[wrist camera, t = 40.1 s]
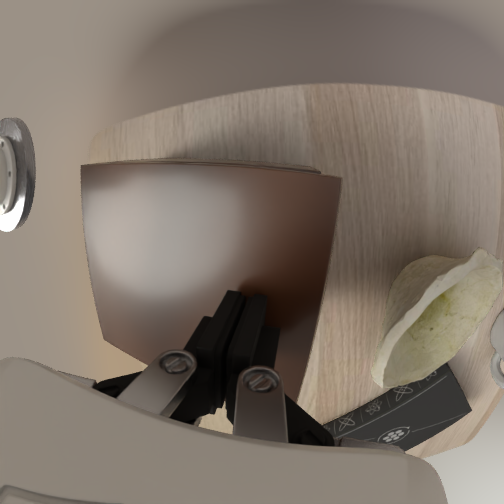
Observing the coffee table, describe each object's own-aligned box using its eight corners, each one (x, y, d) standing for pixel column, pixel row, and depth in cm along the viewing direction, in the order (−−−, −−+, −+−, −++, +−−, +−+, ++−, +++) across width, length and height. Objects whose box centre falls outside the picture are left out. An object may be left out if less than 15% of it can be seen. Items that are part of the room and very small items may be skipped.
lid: (342, 177, 9) (341, 178, 9) (293, 413, 14) (289, 423, 13) (90, 164, 14) (80, 165, 13) (110, 334, 18) (103, 339, 18)
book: (441, 353, 26) (449, 368, 23) (466, 398, 27) (472, 410, 25) (306, 430, 33) (305, 446, 30) (356, 459, 35) (356, 472, 32)
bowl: (407, 366, 27) (429, 429, 18) (326, 308, 26) (335, 380, 17) (492, 275, 22) (541, 318, 12) (426, 190, 21) (490, 213, 11)
